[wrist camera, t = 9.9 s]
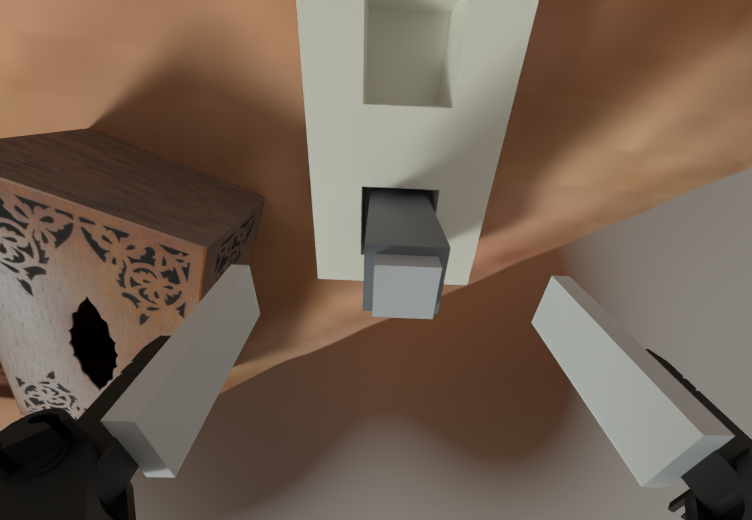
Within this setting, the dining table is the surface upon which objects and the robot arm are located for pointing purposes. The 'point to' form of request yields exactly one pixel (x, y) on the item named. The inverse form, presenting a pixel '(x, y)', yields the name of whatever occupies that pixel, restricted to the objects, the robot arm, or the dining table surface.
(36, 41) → the dining table surface
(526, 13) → the socket block
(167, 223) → the tissue box cover
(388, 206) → the plug
